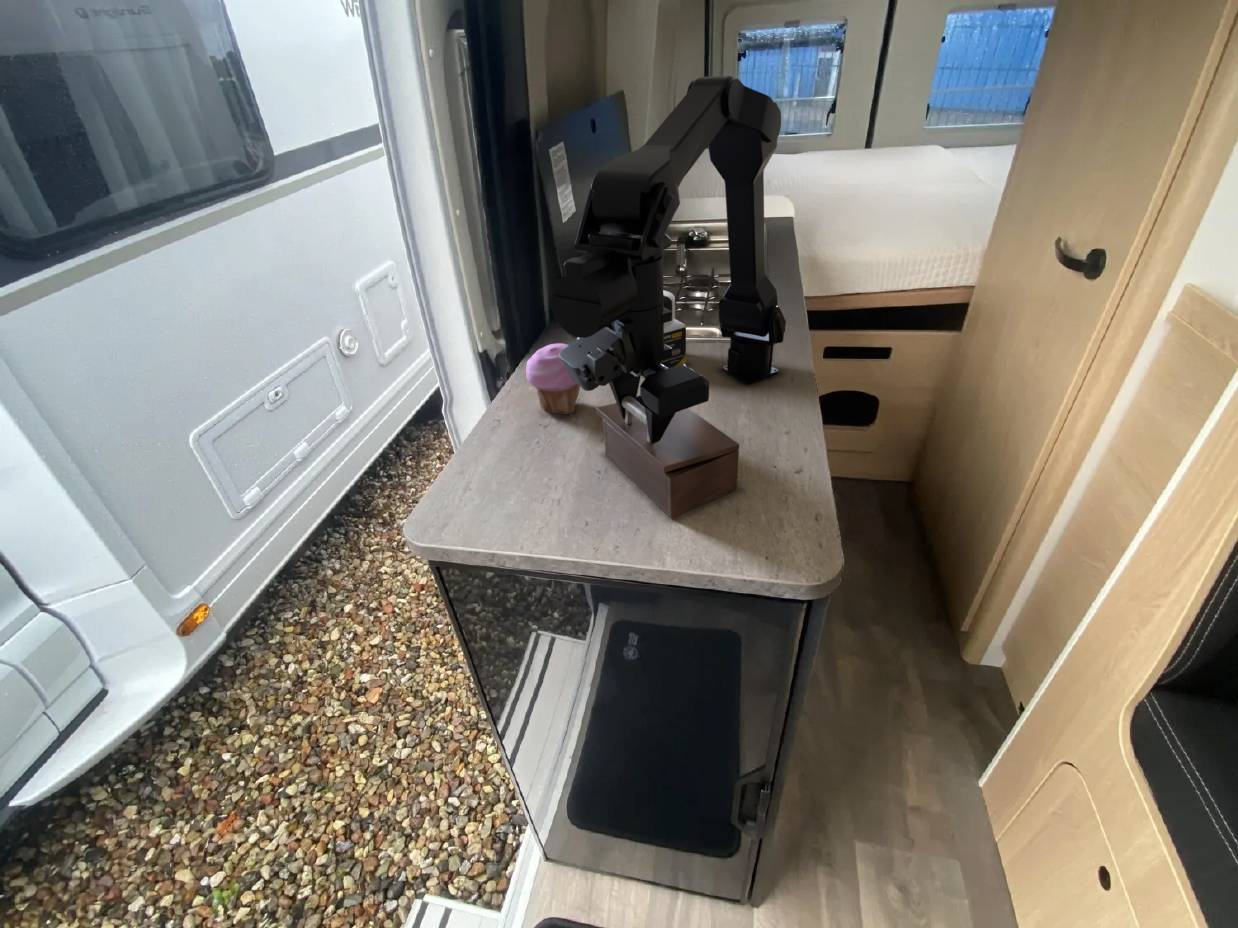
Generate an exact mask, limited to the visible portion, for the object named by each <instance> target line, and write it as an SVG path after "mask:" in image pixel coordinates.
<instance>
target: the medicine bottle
mask: <svg viewBox="0 0 1238 928" xmlns="http://www.w3.org/2000/svg"><path fill="white" fill-rule="evenodd" d="M663 295H664V308H666V309H668V310H670V311H672V321H669V322H666V323H664V344H666V345H667V346H669V347H671V348H672V357H670V358H667V359H664V360H662V363H661V364H662V365H664V366H665V367H667V368H672V367H675V366H678V365H681V364H684V365H686V364H687V325H686V324H685V323H683V322H681V321H680V320H677V319H676V302H675V300H676V297H675V295H674V293H672V292H670V291H667V290H664V289H663Z"/></svg>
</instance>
